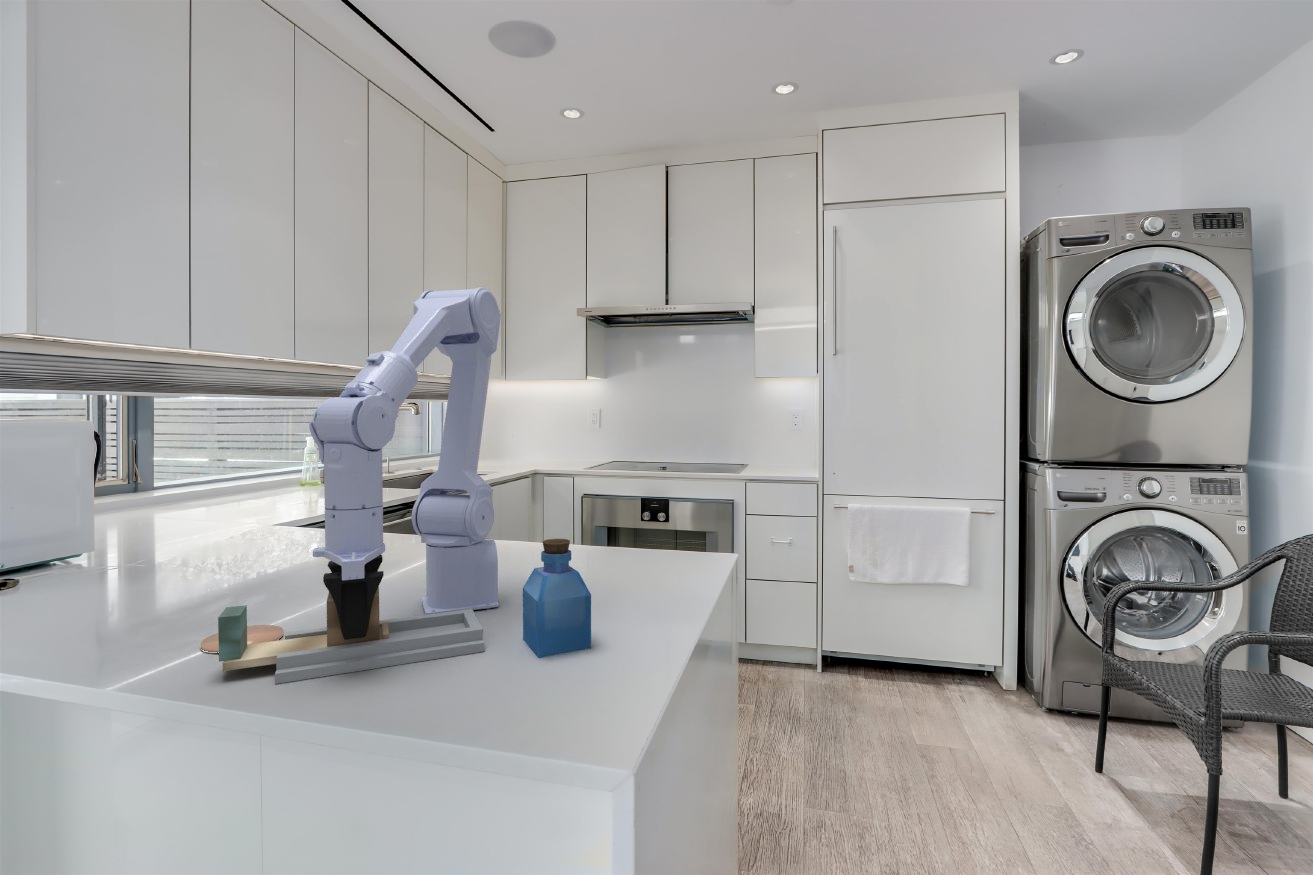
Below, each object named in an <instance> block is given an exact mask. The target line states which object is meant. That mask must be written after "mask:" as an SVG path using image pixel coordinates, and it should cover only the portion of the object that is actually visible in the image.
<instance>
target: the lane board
mask: <svg viewBox="0 0 1313 875" xmlns="http://www.w3.org/2000/svg"><path fill="white" fill-rule="evenodd" d="M382 622H388V631H389V639H382V640H375V641H368V642H361V643H353V644H346V645H339V646H332V647H324V648H317V649H310V650H303V651H295V652H288V653H281V654H278V655H277V657H276V664H275V665H276V668H275V669H276V670H275V673H274V684H275V685H276V684H284V683H290V682H296V681H297V682H298V681H302V680H308V679H310V680H311V679H316V678H322V677H330V676H335V675H341V674H347V673H354V672H361V671H367V670H373V669H380V668H386V667H392V666H394V667H395V666H399V665H405V664H407V665H408V664H413V663H418V662H424V661H433V660H437V659H444V658H445V659H446V658H452V657H458V656H463V655H465V656H466V655H469V654H477V653H482V652H483V653H484V652H485V641H484V630H483V629H484V628H483V627H482V625H481V623H480V621H479V619H478V618H477V615H476V613H475V612H474V610H472V609H469V610H461V611H453V612H445V613H437V614H429V615H426V614H423V615H414V616H407V617H399V618H390V619H383V620H379V627H382ZM325 634H327V626H326V627H318V628H310V629H309V628H308V629H304V630H295V631H287V632H285V635H284V640H287V639H295V638H302V637H310V636H318V635H325Z"/></svg>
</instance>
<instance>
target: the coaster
mask: <svg viewBox="0 0 1313 875" xmlns="http://www.w3.org/2000/svg"><path fill="white" fill-rule="evenodd" d="M284 632H285V631H284V629H283V628H282V627H281V626H278V625H273V624H272V625H271V624H256V625H247V645H248V644H256V643H264V642H271V641H277V640H278V639H280V638H281V637H282V636H283V637H284V635H283V633H284ZM283 637H282V638H283ZM282 638H281V639H282ZM281 639H280V640H281ZM278 641H279V640H278ZM201 649H202V650H204V651H208V652H217V653H218V652H219V637H218V632H216V633H213V634H211V635H209V636H207V637H206V638H204V639H203V640H201V641H200V650H201ZM202 650H201V651H202Z"/></svg>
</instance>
